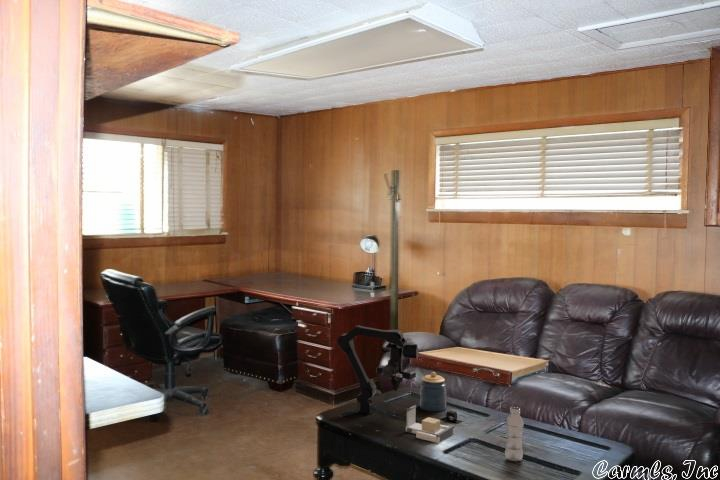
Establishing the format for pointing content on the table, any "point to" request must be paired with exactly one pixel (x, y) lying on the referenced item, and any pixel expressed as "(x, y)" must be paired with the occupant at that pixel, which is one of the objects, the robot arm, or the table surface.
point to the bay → (439, 436)
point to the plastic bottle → (514, 435)
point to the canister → (433, 393)
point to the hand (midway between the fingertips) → (395, 390)
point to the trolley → (427, 424)
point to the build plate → (449, 419)
